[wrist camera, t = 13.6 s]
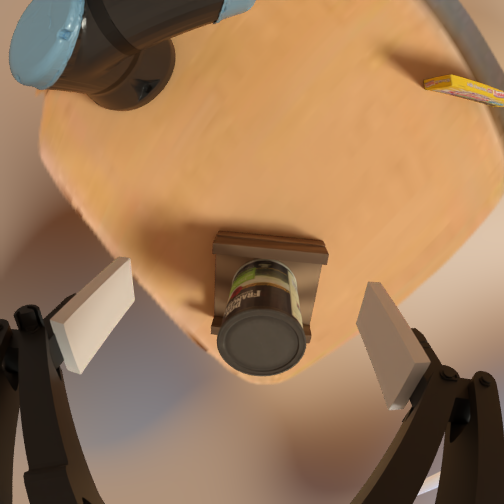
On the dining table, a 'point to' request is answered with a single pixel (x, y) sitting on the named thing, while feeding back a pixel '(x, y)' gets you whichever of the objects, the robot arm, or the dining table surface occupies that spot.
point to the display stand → (274, 248)
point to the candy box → (466, 89)
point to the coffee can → (262, 320)
